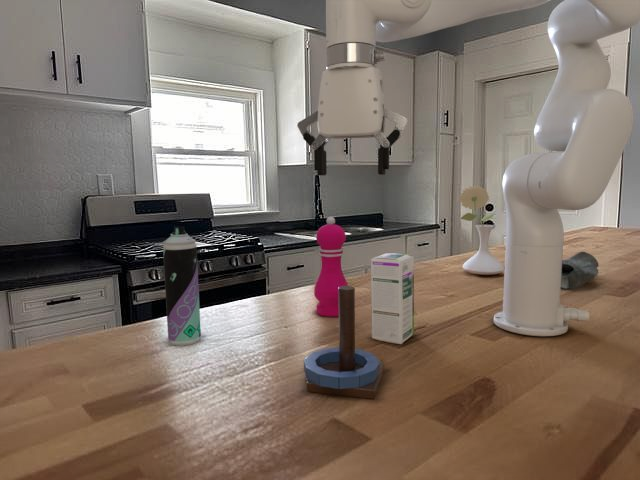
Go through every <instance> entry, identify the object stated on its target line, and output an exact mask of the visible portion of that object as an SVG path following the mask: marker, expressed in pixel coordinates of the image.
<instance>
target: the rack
mask: <svg viewBox="0 0 640 480" xmlns="http://www.w3.org/2000/svg"><path fill="white" fill-rule="evenodd" d="M338 348H339V362H330V363H327V364H324V365H321V366H319V367H321V368H323V369H325V370H329V371H336V372H347V371H355V370H358V369H360V368H363V366H361V365H359V364H356V363H355V349H356V287H354V286H352V285H348V286H341V287H339V316H338ZM384 372H385V363H384V362H380V372H379V375H378V376H377V378H376V380H375V381H374V382H372V383H369V384H367V385H364V386H362V387H358V388H346V389H335V388H329V387H323V386H320V385H317V384H315V383H313V382H311V381H309V380H307V382H306V392H311V393H319V394H328V395H336V396H344V397H351V398H352V397H353V398H362V399H370V400H375V399H376V395H377V393H378V389H379V386H380V384H381V380H382V378H383V374H384Z"/></svg>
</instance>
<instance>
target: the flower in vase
mask: <svg viewBox="0 0 640 480" xmlns="http://www.w3.org/2000/svg"><path fill="white" fill-rule="evenodd" d="M458 197H459V198H458V200H459V202H460V203H461V206H462V207H464V208H467V209H469V210H472V211H473V210H474V213H471V212H467V213H465V214H463V215H462V216H461V218H460V220H464V221H469V222H472V221H473V220H474V219H476V218H477V220H478V221H479V223H480V224H475V225H474V226H475V228H476V229H477V231H478V236H479V249H478V251H477V252H476V253H475V254H474V255H472V256H471V257H470V258H469V259H467V260H466V261H464V263H463V264H462V269H463V270H464V271H465V272H467V273H470V274H474V275H479V276H480V275H481V276H491V275H492V276H493V275H498V274H500V273H503V272H505V265H503V263H502V262H501V261H499V259H497V258H496V257H495V256H494V255H493V254H492V253H491V252H490V250H489V239H490V234H491V232H492V230H493V228H494V227H495V225H493V224H483V222H485V221H488V220H490V219H492V218H493V217H494V216H495V212H493V213H490V214H488V215H486V216H483V218H481V219H480V218H479V216H478V214H477V209H481V208H483V207H486V204H488V201H490V196H489V194H488V191H487V188H482V186H477V185H473V186H471V185H470V186H468V188H467V187H466V188H465V189H463V190H462V192H461V193H460V195H459V196H458Z"/></svg>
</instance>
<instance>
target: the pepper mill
mask: <svg viewBox="0 0 640 480" xmlns="http://www.w3.org/2000/svg"><path fill="white" fill-rule="evenodd" d="M346 235H347V234H346V231H345V229H343V227H342V226H340V225H338V224H336V219H335V217H334V216H328V217H327V218H326V224H324V225H322V226H321V227H319V228H318V230H317V232H316V239H315V240H316V243H317V245H319V248H318V252H319V253H318V255H319V256H320V261H321V268H320V271H319V274H318V277H317V280H316V282H315V285H314V289H313V290H314V291H313V294H314V297H315V299H316V300H317V301H318V302H317V303H316V313H317V315H319V316H322V317H327V318H328V317H329V318H330V317H331V318H332V317H333V318H334V317H339V287H341V286H349V285H348V281H347V279H346V277H345V275H344V272H343V270H342V269H343V268H342V257H343V256H344V248H343V245H344V244H345V242H346V240H347V239H346V238H347V237H346Z"/></svg>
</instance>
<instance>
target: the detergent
mask: <svg viewBox="0 0 640 480" xmlns="http://www.w3.org/2000/svg"><path fill="white" fill-rule="evenodd" d="M598 267H599V262H598V260H597V258H596V257H594V255H592V254H591V253H589V252H586V251H579V252H576V253H574V254H573V255H571V256H570V257H568V258H567V259H562V273H561V289H564V290H567V289H568V290H569V289H574V288H578V287H581V286H583V285H585V284H586V283H588V282H589V281H591V279H593V278H594V277H596V276H598V275H599V269H598Z"/></svg>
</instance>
